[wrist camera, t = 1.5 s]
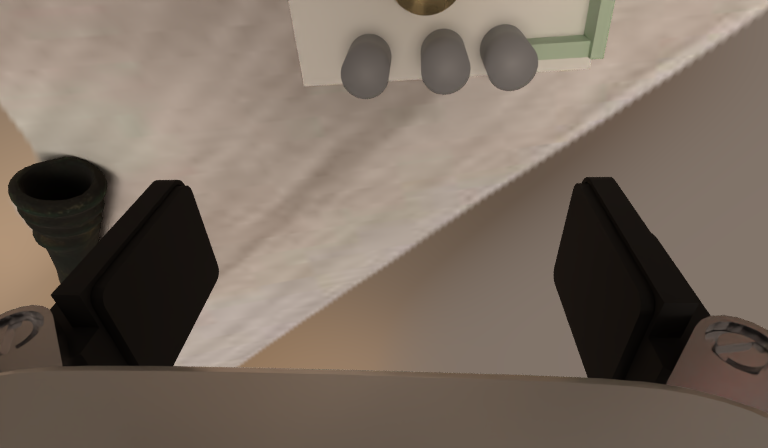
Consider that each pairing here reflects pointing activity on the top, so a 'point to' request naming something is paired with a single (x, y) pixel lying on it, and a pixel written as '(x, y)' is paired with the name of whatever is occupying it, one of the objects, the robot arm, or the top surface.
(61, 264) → the tool
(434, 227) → the top surface
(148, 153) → the top surface
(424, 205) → the top surface
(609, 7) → the board
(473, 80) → the top surface
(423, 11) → the gold short round piece
